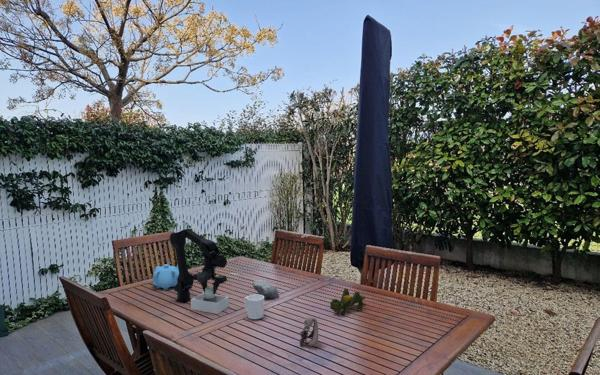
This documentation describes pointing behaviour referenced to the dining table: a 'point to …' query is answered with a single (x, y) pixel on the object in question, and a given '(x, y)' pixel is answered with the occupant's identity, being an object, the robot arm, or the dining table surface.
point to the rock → (265, 289)
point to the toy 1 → (314, 333)
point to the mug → (255, 306)
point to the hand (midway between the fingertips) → (209, 293)
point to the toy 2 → (346, 302)
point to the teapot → (165, 276)
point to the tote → (210, 304)
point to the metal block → (210, 299)
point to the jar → (209, 293)
